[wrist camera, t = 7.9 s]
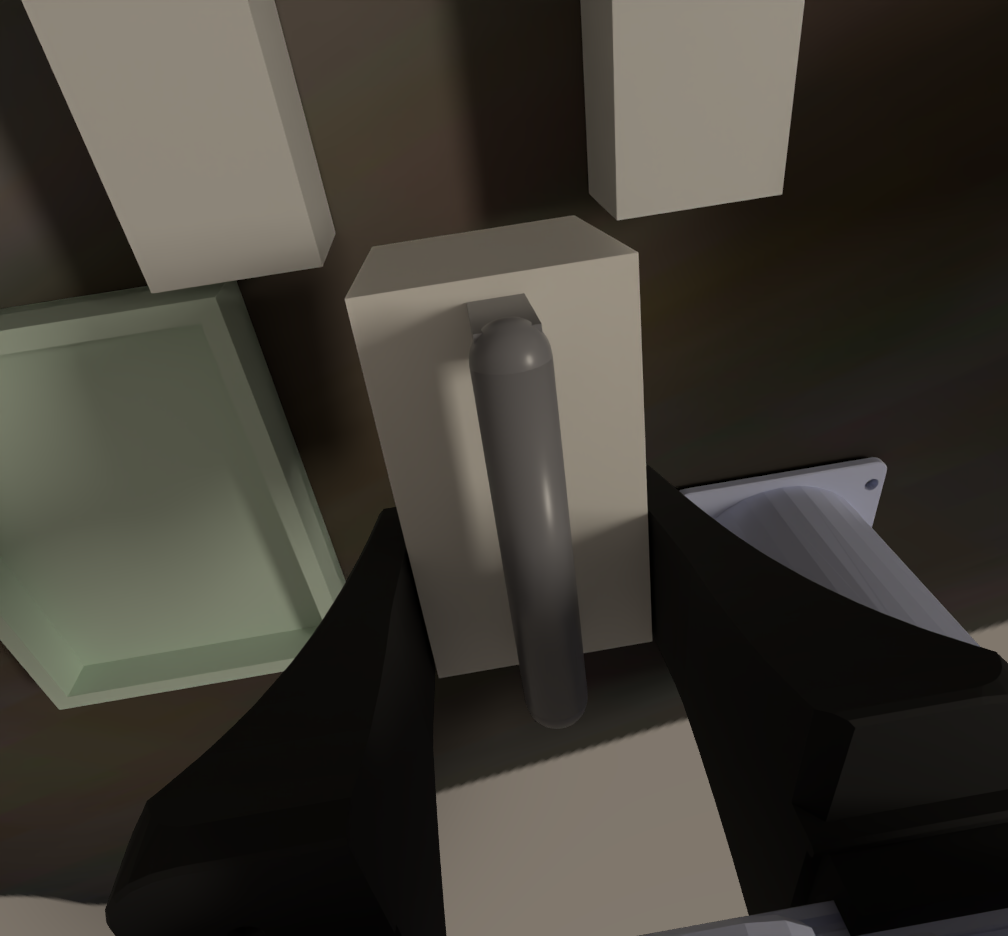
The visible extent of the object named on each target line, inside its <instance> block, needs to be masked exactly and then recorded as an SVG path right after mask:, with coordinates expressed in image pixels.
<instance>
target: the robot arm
mask: <svg viewBox="0 0 1008 936" xmlns="http://www.w3.org/2000/svg"><path fill="white" fill-rule="evenodd" d="M886 472H887V466H886V465H885V463H884V462H883V461H881V460H880V459H879V458H876V457H871V458H865V459H859V460H853V461H847V462H841V463H835V464H829V465H824V466H818V467H812V468H806V469H800V470H794V471H788V472H782V473H776V474H770V475H764V476H758V477H752V478H746V479H740V480H734V481H728V482H722V483H716V484H710V485H704V486H698V487H692V488H687V489H683V490H680V491H678V490H677V489H676V488H675V487H674V486H673V485H671V484H670V483H669V482H668V481H667V480H665V479H664V478H663V477H662V476H661V475H660V474H658V473H657V472H656V471H655V470H654V469H652V468H651V467H650V466H649V465H647V466H646V479H647V507H648V535H649V562H650V590H651V618H652V634H653V636H654V638H655V641H656V643H657V645H658V647H659V649H660V652H661V654H662V656H663V658H664V660H665V663H666V665H667V667H668V669H669V671H670V674H671V676H672V678H673V680H674V682H675V685H676V687H677V690H678V692H679V695H680V697H681V700H682V702H683V705H684V707H685V710H686V713H687V716H688V719H689V722H690V725H691V728H692V731H693V734H694V737H695V740H696V743H697V746H698V749H699V752H700V755H701V758H702V762H703V765H704V768H705V771H706V774H707V777H708V780H709V783H710V787H711V790H712V793H713V796H714V799H715V802H716V806H717V809H718V812H719V815H720V819H721V822H722V825H723V828H724V832H725V835H726V839H727V842H728V845H729V848H730V852H731V855H732V858H733V862H734V865H735V869H736V872H737V876H738V879H739V883H740V886H741V889H742V893H743V897H744V900H745V903H746V907H747V910H748V914H749V916H744V917H738V918H733V919H728V920H722V921H717V922H711V923H705V924H700V925H694V926H689V927H684V928H678V929H672V930H667V931H662V932H656V933H650V934H645V935H639V936H1008V663H1007V662H1006V661H1005V660H1004V659H1003V658H1002V657H1001V656H1000V655H998V654H997V652H995V651H991V650H988V649H985V648H982V647H980V646H979V645H978V644H977V643H976V642H975V640H974V639H973V638H972V637H971V636H970V635H969V634H968V633H967V632H966V631H965V629H964V628H963V627H962V626H961V625H960V624H959V623H958V622H957V621H956V620H955V619H954V617H953V616H952V615H951V614H950V613H949V612H948V611H947V610H946V609H945V608H944V606H943V605H942V604H941V603H940V602H939V601H938V600H937V599H936V598H935V597H934V596H933V594H932V593H931V592H930V591H929V590H928V589H927V588H926V587H925V586H924V585H923V583H922V582H921V581H920V580H919V579H918V578H917V577H916V576H915V575H914V574H913V573H912V571H911V570H910V569H909V568H908V567H907V566H906V565H905V564H904V563H903V562H902V560H901V559H900V558H899V557H898V556H897V555H896V554H895V553H894V552H893V551H892V550H891V548H890V547H889V546H888V545H887V544H886V543H885V542H884V541H883V540H882V539H881V537H880V536H879V535H878V534H877V533H876V532H875V531H874V530H873V529H872V525H873V521H874V517H875V513H876V510H877V506H878V502H879V498H880V494H881V491H882V487H883V483H884V479H885V475H886ZM869 480H871V481H869ZM868 481H869V482H868ZM867 482H868V483H867ZM435 666H436V665H435V661H434V657H433V653H432V649H431V645H430V641H429V637H428V633H427V629H426V625H425V621H424V616H423V612H422V608H421V604H420V600H419V596H418V592H417V588H416V584H415V580H414V576H413V572H412V568H411V564H410V560H409V556H408V552H407V548H406V544H405V540H404V536H403V532H402V528H401V524H400V520H399V516H398V512H397V508H396V507H393V508H387V509H383V511H382V512H381V513H380V514H379V517H378V519H377V521H376V524H375V526H374V528H373V530H372V532H371V535H370V537H369V539H368V541H367V543H366V545H365V547H364V549H363V551H362V553H361V555H360V557H359V559H358V561H357V563H356V564H355V566H354V568H353V570H352V572H351V573H350V575H349V577H348V579H347V581H346V583H345V584H344V586H343V588H342V589H341V591H340V593H339V594H338V596H337V598H336V599H335V601H334V602H333V604H332V605H331V607H330V609H329V610H328V612H327V613H326V615H325V617H324V618H323V620H322V621H321V623H320V624H319V626H318V627H317V628H316V630H315V631H314V633H313V634H312V636H311V637H310V638H309V640H308V641H307V643H306V644H305V645H304V646H303V648H302V649H301V650H300V652H299V653H298V654H297V656H296V657H295V658H294V660H293V661H292V662H291V663H290V665H289V666H288V667H287V668H286V669H285V670H284V672H283V673H282V674H281V675H280V676H279V678H278V679H277V680H276V681H275V682H274V683H273V685H272V686H271V687H270V688H269V689H268V690H267V691H266V693H265V694H264V695H263V696H262V697H261V698H260V699H259V700H258V702H257V703H256V704H255V705H254V706H253V707H252V708H251V709H250V710H249V711H248V712H247V713H246V714H245V715H244V716H243V717H242V718H241V719H240V720H239V721H238V722H237V723H236V724H235V725H234V726H233V727H232V728H231V729H230V730H229V731H228V732H227V733H226V734H224V735H223V736H222V737H221V738H220V739H219V740H218V741H217V742H216V743H215V744H214V745H213V746H212V747H211V748H209V749H208V750H207V751H206V752H205V753H204V754H203V755H202V756H201V757H199V758H198V759H197V760H196V761H195V762H193V763H192V764H191V765H190V766H189V767H188V768H186V769H185V770H184V771H183V772H182V773H180V774H179V775H178V776H177V777H176V778H174V779H173V780H172V781H171V782H170V783H169V784H167V785H166V786H165V787H164V788H163V789H161V790H160V791H159V792H158V793H157V794H155V795H154V796H153V797H151V798H150V799H149V800H148V801H147V802H146V804H145V807H144V809H143V812H142V814H141V816H140V818H139V820H138V822H137V824H136V827H135V829H134V831H133V833H132V836H131V839H130V841H129V844H128V846H127V849H126V852H125V855H124V858H123V860H122V863H121V866H120V869H119V872H118V875H117V878H116V880H115V883H114V886H113V889H112V892H111V895H110V898H109V900H108V903H107V906H106V909H105V912H106V922H107V924H108V926H109V928H110V929H111V930H112V932H113V933H114V934H115V936H446V926H445V914H444V903H443V889H442V876H441V864H440V850H439V836H438V821H437V806H436V790H435V773H434V756H433V714H434V690H435Z"/></svg>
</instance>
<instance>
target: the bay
mask: <svg viewBox="0 0 1008 936" xmlns="http://www.w3.org/2000/svg"><path fill="white" fill-rule="evenodd" d="M21 1H22V3H23V5H24V7H25V10H26V12H27V14H28V16H29V19H30V21H31V23H32V25H33V28H34V30H35V32H36V34H37V37H38V39H39V41H40V43H41V46H42V48H43V50H44V52H45V55H46V57H47V59H48V61H49V64H50V66H51V68H52V70H53V73H54V75H55V77H56V79H57V82H58V84H59V86H60V88H61V91H62V93H63V95H64V97H65V100H66V102H67V104H68V106H69V109H70V111H71V113H72V115H73V118H74V120H75V122H76V125H77V127H78V129H79V131H80V134H81V136H82V138H83V140H84V143H85V145H86V147H87V149H88V152H89V154H90V156H91V158H92V161H93V163H94V165H95V167H96V170H97V172H98V174H99V176H100V179H101V181H102V183H103V185H104V188H105V190H106V192H107V194H108V197H109V199H110V201H111V203H112V206H113V208H114V210H115V212H116V215H117V217H118V219H119V221H120V224H121V226H122V228H123V230H124V233H125V235H126V237H127V239H128V242H129V244H130V246H131V248H132V251H133V253H134V255H135V257H136V260H137V262H138V264H139V266H140V269H141V271H142V273H143V275H144V278H145V280H146V282H147V284H148V287H149V289H150V291H151V293H158V292H165V291H171V290H178V289H184V288H190V287H197V286H203V285H209V284H216V283H222V282H228V281H235V280H241V279H248V278H254V277H260V276H267V275H273V274H279V273H286V272H292V271H298V270H305V269H311V268H317V267H323V265H324V262H325V259H326V257H327V254H328V252H329V249H330V246H331V244H332V241H333V239H334V236H335V234H336V233H335V229H334V225H333V222H332V218H331V214H330V210H329V206H328V203H327V199H326V195H325V191H324V187H323V184H322V180H321V176H320V172H319V168H318V165H317V161H316V157H315V153H314V149H313V146H312V142H311V138H310V134H309V130H308V127H307V123H306V119H305V115H304V111H303V108H302V104H301V100H300V96H299V92H298V89H297V85H296V81H295V77H294V73H293V70H292V66H291V62H290V58H289V54H288V51H287V47H286V43H285V39H284V35H283V32H282V28H281V24H280V20H279V16H278V13H277V9H276V5H275V1H274V0H21ZM804 2H805V0H580V3H581V26H582V48H583V71H584V93H585V116H586V138H587V161H588V183H589V194H590V195H591V196H592V197H593V198H594V199H595V200H596V201H597V202H598V203H599V204H600V205H601V206H602V207H603V208H604V209H605V210H607V211H608V212H609V213H610V214H611V215H612V216H613V217H614V218H615V219H616V220H623V219H629V218H636V217H642V216H648V215H655V214H661V213H667V212H674V211H680V210H686V209H693V208H699V207H706V206H712V205H718V204H725V203H731V202H737V201H744V200H750V199H756V198H763V197H769V196H776V195H782V192H783V183H784V174H785V166H786V157H787V148H788V140H789V131H790V123H791V114H792V105H793V97H794V88H795V79H796V71H797V62H798V54H799V45H800V36H801V28H802V19H803V10H804Z"/></svg>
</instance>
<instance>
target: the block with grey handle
mask: <svg viewBox="0 0 1008 936" xmlns="http://www.w3.org/2000/svg"><path fill="white" fill-rule="evenodd" d="M345 303H346V307H347V311H348V315H349V319H350V323H351V327H352V331H353V335H354V339H355V343H356V347H357V351H358V355H359V359H360V363H361V367H362V371H363V375H364V379H365V383H366V387H367V391H368V395H369V399H370V403H371V407H372V411H373V415H374V419H375V423H376V427H377V431H378V436H379V440H380V444H381V448H382V452H383V456H384V460H385V464H386V468H387V472H388V476H389V480H390V484H391V488H392V492H393V496H394V500H395V504H396V508H397V512H398V516H399V520H400V524H401V528H402V532H403V536H404V540H405V544H406V548H407V552H408V556H409V560H410V564H411V568H412V572H413V576H414V580H415V584H416V588H417V592H418V596H419V600H420V604H421V608H422V612H423V616H424V621H425V625H426V629H427V633H428V637H429V641H430V645H431V649H432V653H433V657H434V661H435V665H436V669H437V673H438V677H439V678H444V677H449V676H455V675H461V674H467V673H473V672H478V671H484V670H490V669H496V668H501V667H507V666H513V665H519V667H520V673H521V679H522V685H523V691H524V697H525V702H526V705H527V708H528V710H529V712H530V714H531V715H532V717H533V718H534V719H535V722H536V721H537V722H539V723H540V724H542V725H543V726H546V727H549V728H555V729H559V728H565V727H568V726H570V725H572V724H574V723H575V722H576V721H577V720H578V719H579V718H580V717H581V716H582V714H583V713H584V711H585V708H586V705H587V699H588V692H587V683H586V673H585V663H584V653H588V652H594V651H600V650H605V649H611V648H617V647H623V646H629V645H634V644H640V643H646V642H652V618H651V590H650V562H649V535H648V507H647V479H646V452H645V424H644V396H643V369H642V341H641V313H640V285H639V258H638V252H637V251H635V250H633V249H632V248H630V247H628V246H626V245H625V244H623V243H621V242H619V241H618V240H616V239H614V238H613V237H611V236H609V235H607V234H606V233H604V232H602V231H601V230H599V229H597V228H595V227H594V226H592V225H590V224H588V223H587V222H585V221H583V220H582V219H580V218H578V217H576V216H575V215H572V216H566V217H559V218H553V219H547V220H540V221H534V222H527V223H521V224H515V225H508V226H502V227H495V228H489V229H483V230H476V231H470V232H463V233H457V234H451V235H444V236H438V237H432V238H425V239H419V240H412V241H406V242H400V243H393V244H387V245H380V246H374V247H372V248H371V250H370V252H369V254H368V256H367V258H366V259H365V261H364V263H363V265H362V267H361V269H360V271H359V273H358V275H357V276H356V278H355V280H354V282H353V284H352V286H351V288H350V290H349V291H348V293H347V295H346V297H345Z"/></svg>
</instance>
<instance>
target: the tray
mask: <svg viewBox="0 0 1008 936" xmlns="http://www.w3.org/2000/svg"><path fill="white" fill-rule="evenodd" d="M345 583H346V581H345V578H344V576H343V573H342V570H341V567H340V565H339V562H338V559H337V556H336V554H335V551H334V548H333V545H332V543H331V540H330V537H329V534H328V532H327V529H326V526H325V523H324V521H323V518H322V515H321V512H320V509H319V507H318V504H317V501H316V498H315V496H314V493H313V490H312V487H311V485H310V482H309V479H308V476H307V474H306V471H305V468H304V465H303V463H302V460H301V457H300V454H299V452H298V449H297V446H296V443H295V441H294V438H293V435H292V432H291V430H290V427H289V424H288V421H287V419H286V416H285V413H284V410H283V408H282V405H281V402H280V399H279V397H278V394H277V391H276V388H275V385H274V383H273V380H272V377H271V374H270V372H269V369H268V366H267V363H266V361H265V358H264V355H263V352H262V350H261V347H260V344H259V341H258V339H257V336H256V333H255V330H254V328H253V325H252V322H251V319H250V317H249V314H248V311H247V308H246V306H245V303H244V300H243V297H242V295H241V292H240V289H239V286H238V284H237V281H236V280H235V281H228V282H222V283H216V284H209V285H203V286H197V287H190V288H184V289H178V290H171V291H165V292H158V293H151V291H150V289H149V287H148V286H143V287H137V288H130V289H124V290H117V291H111V292H105V293H98V294H92V295H86V296H79V297H73V298H66V299H60V300H54V301H47V302H41V303H35V304H28V305H22V306H15V307H9V308H3V309H0V640H1V641H2V643H3V644H4V645H5V646H6V647H7V648H8V650H9V651H10V652H11V653H12V654H13V656H14V657H15V658H16V659H17V660H18V661H19V663H20V664H21V665H22V666H23V667H24V669H25V670H26V671H27V672H28V673H29V675H30V676H31V677H32V678H33V679H34V680H35V682H36V683H37V684H38V685H39V686H40V688H41V689H42V690H43V691H44V692H45V693H46V695H47V696H48V697H49V698H50V699H51V701H52V702H53V703H54V704H55V705H56V706H57V708H58V709H59V710H62V709H67V708H73V707H79V706H85V705H91V704H96V703H102V702H108V701H114V700H120V699H126V698H131V697H137V696H143V695H149V694H155V693H160V692H166V691H172V690H178V689H184V688H189V687H195V686H201V685H207V684H213V683H218V682H224V681H230V680H236V679H242V678H247V677H253V676H259V675H265V674H271V673H276V672H282V671H284V670H285V669H286V668H287V667H288V666H289V665H290V663H291V662H292V661H293V660H294V658H295V657H296V656H297V654H298V653H299V652H300V650H301V649H302V648H303V646H304V645H305V644H306V643H307V641H308V640H309V638H310V637H311V636H312V634H313V633H314V631H315V630H316V628H317V627H318V626H319V624H320V623H321V621H322V620H323V618H324V617H325V615H326V613H327V612H328V610H329V609H330V607H331V605H332V604H333V602H334V601H335V599H336V598H337V596H338V594H339V593H340V591H341V589H342V588H343V586H344V584H345Z"/></svg>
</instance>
